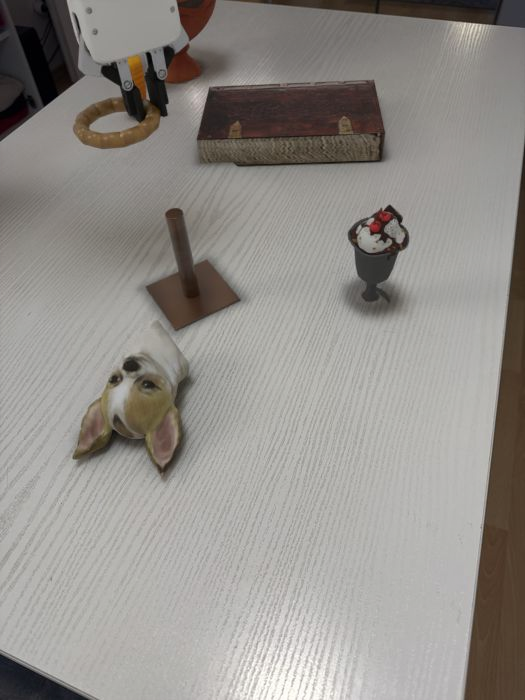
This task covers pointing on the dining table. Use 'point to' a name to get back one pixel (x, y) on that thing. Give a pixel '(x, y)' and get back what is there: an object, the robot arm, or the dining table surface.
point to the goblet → (194, 15)
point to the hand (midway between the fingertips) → (149, 114)
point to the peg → (189, 282)
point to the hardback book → (292, 123)
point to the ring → (115, 138)
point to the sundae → (377, 248)
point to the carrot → (137, 74)
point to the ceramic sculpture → (140, 399)
